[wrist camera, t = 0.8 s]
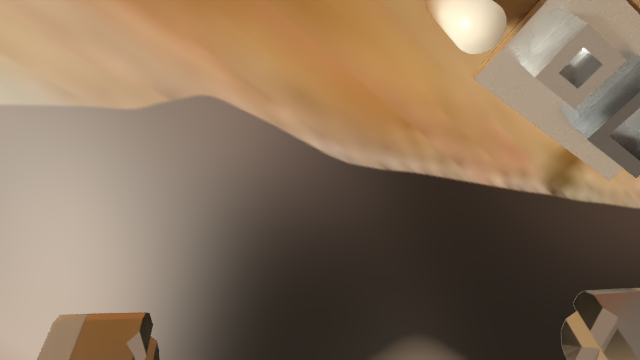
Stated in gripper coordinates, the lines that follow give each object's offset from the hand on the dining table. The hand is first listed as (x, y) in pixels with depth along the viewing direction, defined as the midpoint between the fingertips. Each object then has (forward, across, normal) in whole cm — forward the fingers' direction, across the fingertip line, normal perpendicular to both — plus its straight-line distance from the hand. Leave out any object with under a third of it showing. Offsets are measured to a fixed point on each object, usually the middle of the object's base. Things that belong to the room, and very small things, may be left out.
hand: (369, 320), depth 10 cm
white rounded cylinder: (+38, -14, +4) cm, 40 cm away
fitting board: (+38, -30, +12) cm, 50 cm away
